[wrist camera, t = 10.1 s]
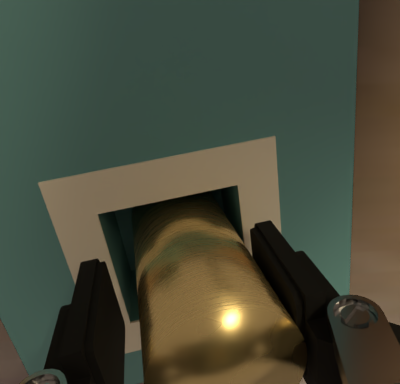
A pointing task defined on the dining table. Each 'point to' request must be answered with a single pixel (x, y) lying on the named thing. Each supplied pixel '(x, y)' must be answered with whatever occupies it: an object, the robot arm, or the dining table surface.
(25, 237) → the socket block
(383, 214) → the dining table surface
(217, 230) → the brass pin
